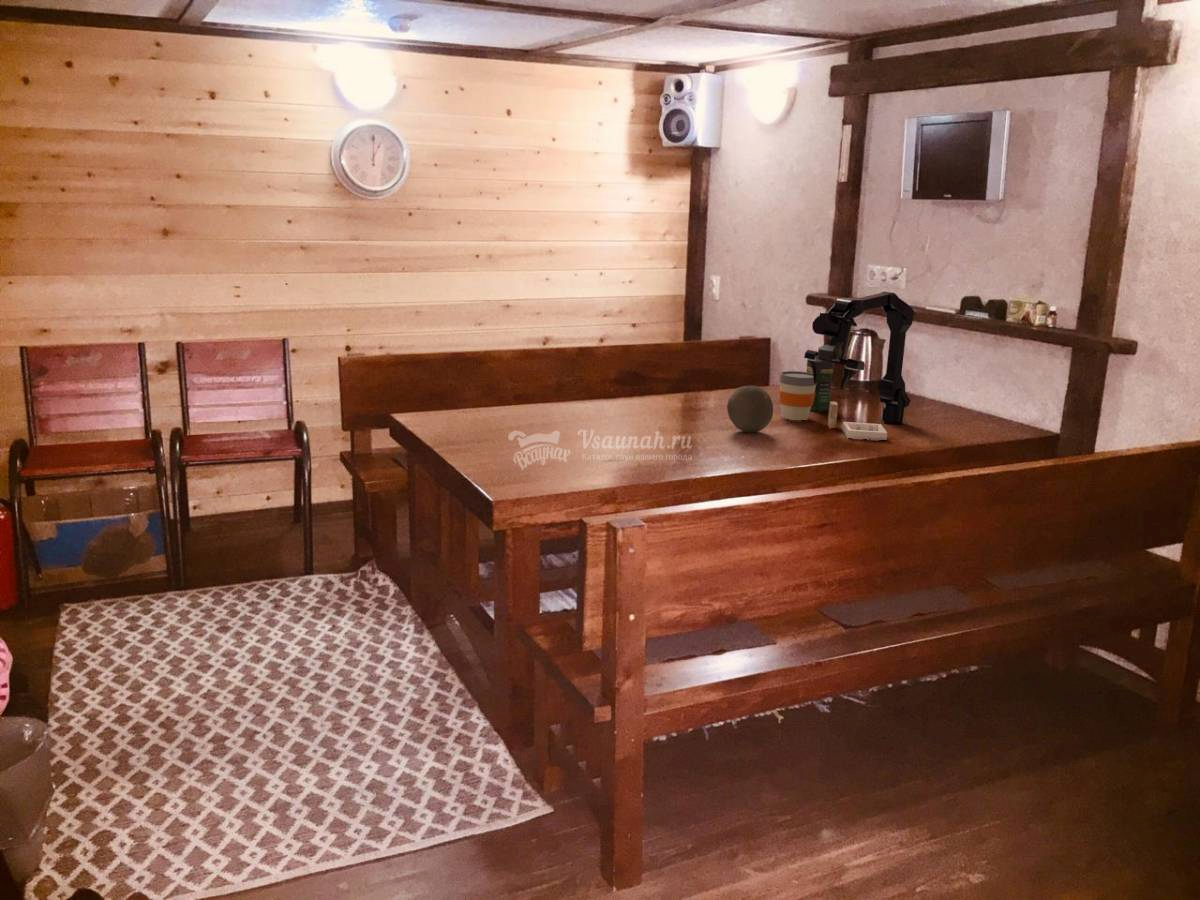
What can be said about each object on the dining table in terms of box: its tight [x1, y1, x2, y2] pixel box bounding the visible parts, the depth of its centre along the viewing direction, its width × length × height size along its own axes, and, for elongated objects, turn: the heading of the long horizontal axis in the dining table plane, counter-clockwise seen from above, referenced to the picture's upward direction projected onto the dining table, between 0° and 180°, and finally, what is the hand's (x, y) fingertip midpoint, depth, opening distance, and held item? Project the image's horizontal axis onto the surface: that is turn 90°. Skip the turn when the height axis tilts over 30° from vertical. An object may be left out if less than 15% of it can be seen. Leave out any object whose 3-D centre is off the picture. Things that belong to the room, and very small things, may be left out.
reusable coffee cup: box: [778, 370, 817, 421], centre depth 334 cm, size 13×13×15 cm
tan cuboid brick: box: [827, 401, 839, 429], centre depth 324 cm, size 2×4×8 cm, turn 175°
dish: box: [841, 421, 888, 441], centre depth 315 cm, size 12×12×3 cm
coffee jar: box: [806, 360, 834, 412], centre depth 349 cm, size 10×8×19 cm
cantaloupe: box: [726, 385, 774, 434], centre depth 310 cm, size 14×14×15 cm
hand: (828, 386), depth 315 cm, fingers open, 9 cm apart
